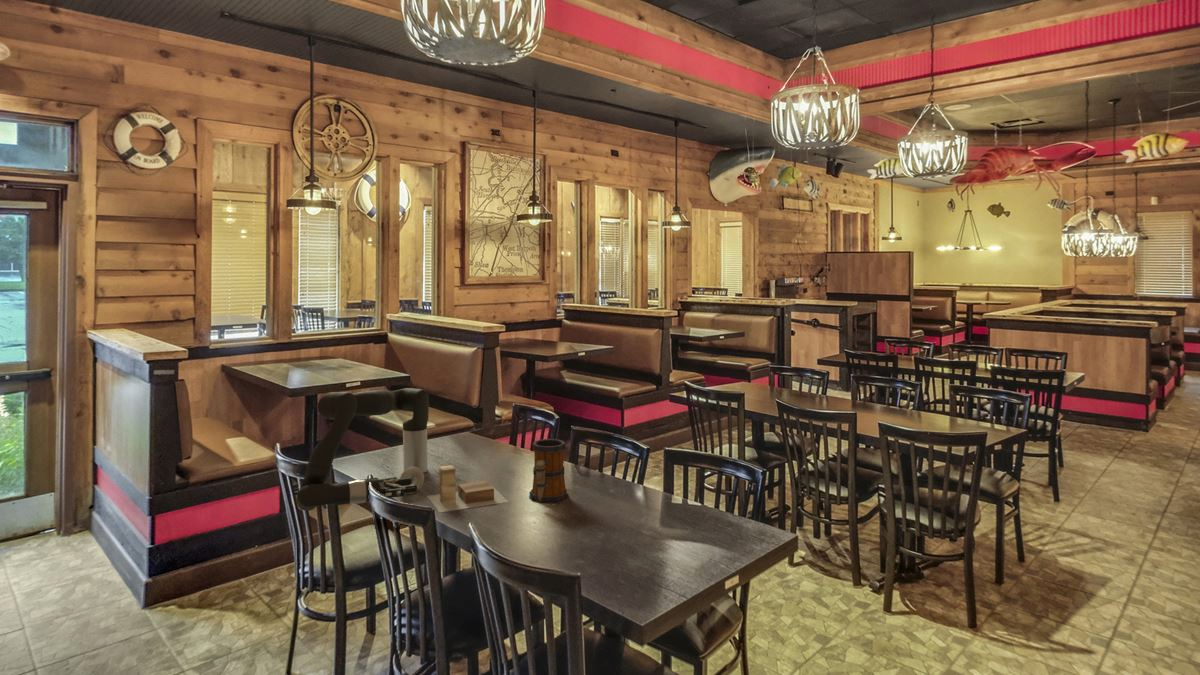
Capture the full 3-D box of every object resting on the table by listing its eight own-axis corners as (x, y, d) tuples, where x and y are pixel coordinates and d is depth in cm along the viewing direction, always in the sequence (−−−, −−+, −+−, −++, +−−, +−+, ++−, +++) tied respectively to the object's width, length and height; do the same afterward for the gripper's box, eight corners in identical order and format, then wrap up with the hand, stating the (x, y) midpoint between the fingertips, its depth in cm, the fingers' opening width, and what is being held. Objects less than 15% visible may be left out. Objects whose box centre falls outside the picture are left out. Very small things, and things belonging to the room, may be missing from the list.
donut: (403, 498, 242) (402, 470, 241) (397, 496, 244) (396, 469, 243) (426, 491, 249) (426, 464, 248) (420, 489, 252) (420, 462, 250)
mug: (560, 511, 230) (560, 453, 228) (518, 508, 233) (518, 450, 231) (573, 493, 249) (573, 438, 247) (535, 490, 252) (535, 436, 250)
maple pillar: (439, 500, 238) (439, 466, 237) (452, 498, 240) (451, 465, 239) (442, 504, 234) (442, 470, 233) (455, 502, 236) (455, 468, 235)
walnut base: (458, 495, 244) (457, 484, 244) (485, 491, 248) (485, 480, 248) (465, 504, 235) (465, 492, 235) (494, 499, 240) (494, 488, 239)
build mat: (427, 497, 243) (427, 495, 243) (492, 488, 254) (492, 486, 254) (439, 513, 227) (439, 512, 227) (508, 503, 238) (508, 501, 238)
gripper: (366, 485, 217) (418, 479, 225) (360, 473, 230) (409, 468, 237) (367, 508, 218) (418, 501, 225) (360, 495, 231) (409, 489, 238)
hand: (414, 484), depth 231 cm, fingers open, 8 cm apart
